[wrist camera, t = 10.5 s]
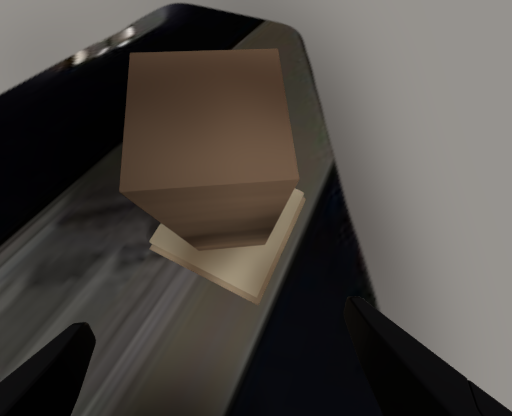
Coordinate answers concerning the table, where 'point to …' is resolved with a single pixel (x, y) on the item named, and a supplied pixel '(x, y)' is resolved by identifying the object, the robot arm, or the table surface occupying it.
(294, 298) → the table surface
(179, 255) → the plinth
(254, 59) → the walnut block
